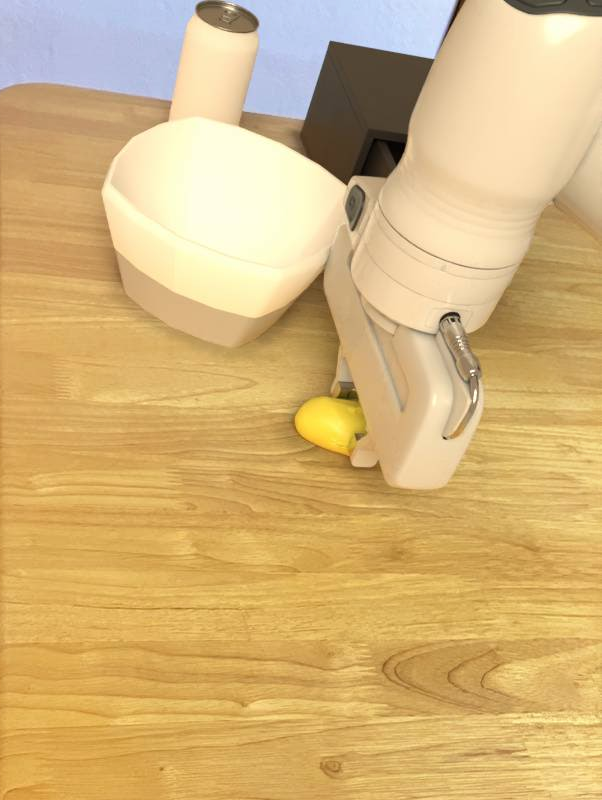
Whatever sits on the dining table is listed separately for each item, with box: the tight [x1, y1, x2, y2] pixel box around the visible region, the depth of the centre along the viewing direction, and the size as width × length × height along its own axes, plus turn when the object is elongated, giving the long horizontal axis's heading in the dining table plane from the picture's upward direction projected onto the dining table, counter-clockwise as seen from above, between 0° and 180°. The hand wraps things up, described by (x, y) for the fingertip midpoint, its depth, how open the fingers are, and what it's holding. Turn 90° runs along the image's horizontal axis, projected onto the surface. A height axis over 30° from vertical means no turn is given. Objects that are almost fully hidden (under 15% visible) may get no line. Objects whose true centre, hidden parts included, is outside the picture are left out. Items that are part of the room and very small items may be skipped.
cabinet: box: [299, 40, 435, 186], centre depth 83 cm, size 16×14×10 cm
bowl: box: [100, 116, 347, 349], centre depth 67 cm, size 18×18×9 cm
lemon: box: [294, 395, 368, 457], centre depth 62 cm, size 4×8×4 cm, turn 82°
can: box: [167, 0, 260, 127], centre depth 80 cm, size 6×6×12 cm
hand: (350, 429), depth 62 cm, fingers closed on lemon, 4 cm apart
